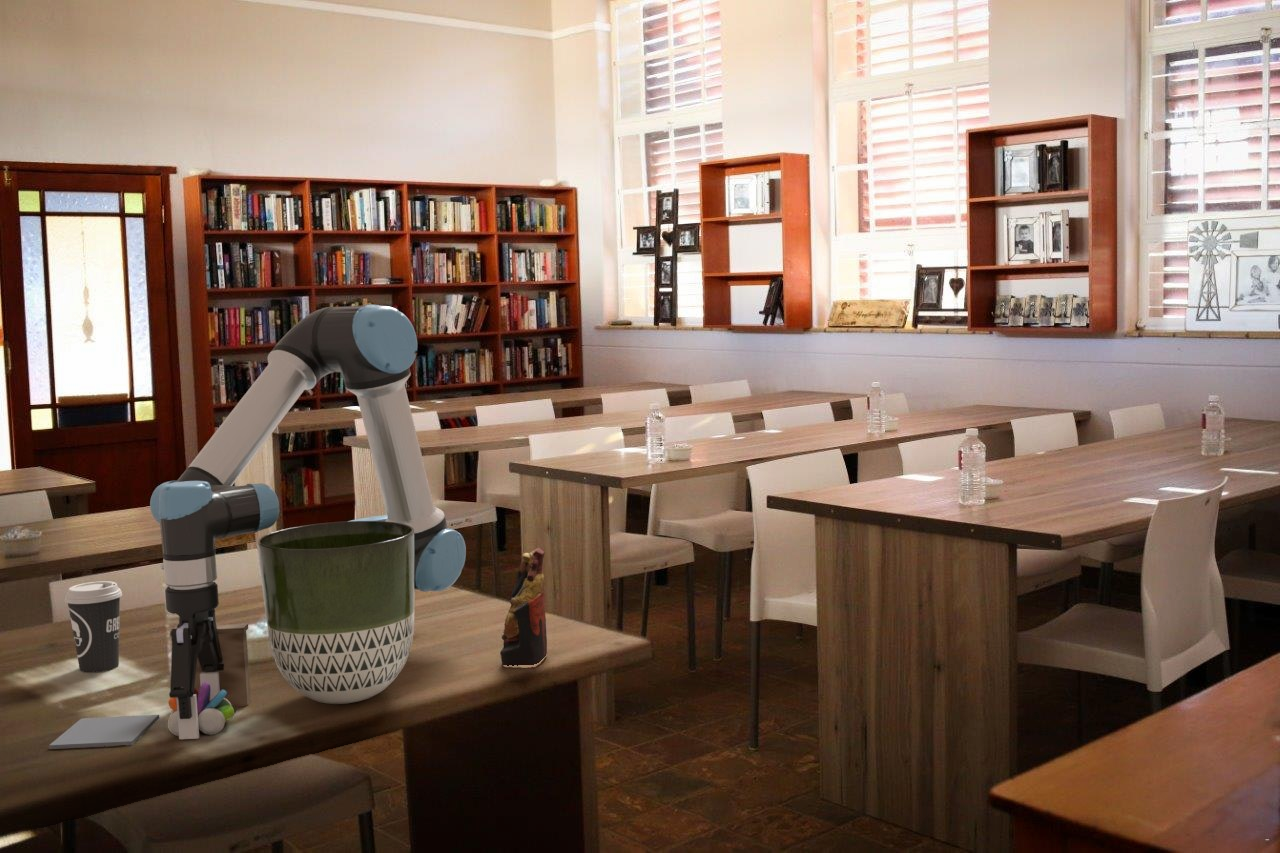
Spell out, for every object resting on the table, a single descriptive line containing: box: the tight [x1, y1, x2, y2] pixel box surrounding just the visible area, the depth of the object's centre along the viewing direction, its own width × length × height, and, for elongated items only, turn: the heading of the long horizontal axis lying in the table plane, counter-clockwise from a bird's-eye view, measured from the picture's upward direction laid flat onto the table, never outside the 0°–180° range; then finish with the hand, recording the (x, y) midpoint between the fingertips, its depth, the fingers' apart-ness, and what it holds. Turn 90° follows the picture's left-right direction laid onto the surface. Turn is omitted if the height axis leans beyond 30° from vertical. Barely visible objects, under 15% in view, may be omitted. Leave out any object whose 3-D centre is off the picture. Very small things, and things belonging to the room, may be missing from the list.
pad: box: [48, 714, 160, 750], centre depth 191 cm, size 12×12×1 cm
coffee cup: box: [64, 580, 123, 674], centre depth 226 cm, size 10×10×15 cm
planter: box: [256, 520, 416, 705], centre depth 203 cm, size 24×24×27 cm
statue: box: [499, 547, 548, 666], centre depth 220 cm, size 12×8×20 cm, turn 168°
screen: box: [169, 623, 252, 707], centre depth 202 cm, size 12×3×13 cm, turn 93°
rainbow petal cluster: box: [167, 682, 235, 737], centre depth 191 cm, size 8×10×7 cm
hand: (200, 725), depth 192 cm, fingers open, 11 cm apart
